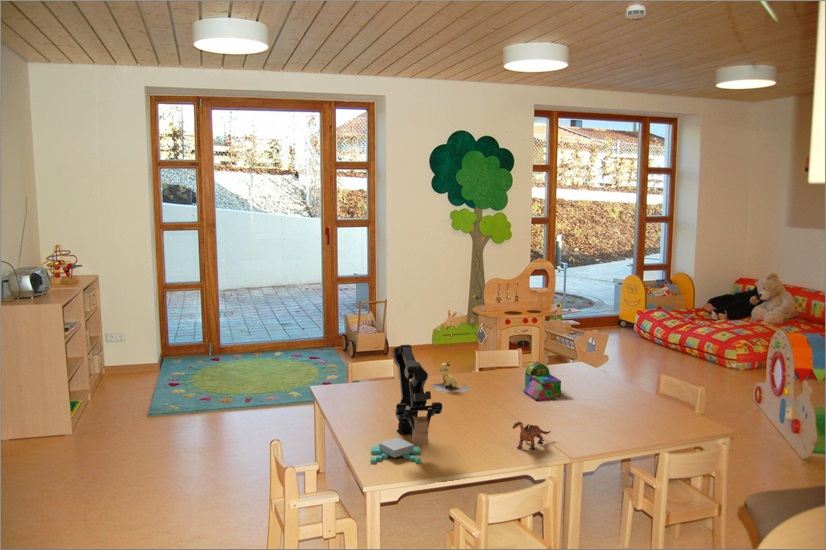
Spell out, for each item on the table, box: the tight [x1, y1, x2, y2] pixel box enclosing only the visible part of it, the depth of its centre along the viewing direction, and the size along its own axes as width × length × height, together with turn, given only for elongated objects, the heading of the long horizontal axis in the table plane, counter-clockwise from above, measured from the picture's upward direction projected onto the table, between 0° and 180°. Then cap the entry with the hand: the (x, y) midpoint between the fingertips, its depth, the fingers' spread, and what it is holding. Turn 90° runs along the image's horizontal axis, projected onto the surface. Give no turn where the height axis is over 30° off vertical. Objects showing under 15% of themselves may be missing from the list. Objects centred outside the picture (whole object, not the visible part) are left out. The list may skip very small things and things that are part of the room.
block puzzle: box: [522, 361, 562, 402], centre depth 353 cm, size 25×17×14 cm
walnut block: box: [411, 415, 429, 447], centre depth 265 cm, size 6×6×10 cm
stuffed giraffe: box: [430, 360, 471, 394], centre depth 359 cm, size 16×18×16 cm
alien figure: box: [370, 444, 422, 464], centre depth 271 cm, size 20×2×20 cm
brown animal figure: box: [511, 421, 552, 452], centre depth 278 cm, size 8×30×15 cm, turn 145°
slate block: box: [378, 437, 415, 458], centre depth 270 cm, size 10×10×3 cm
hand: (420, 428), depth 263 cm, fingers closed on walnut block, 5 cm apart
